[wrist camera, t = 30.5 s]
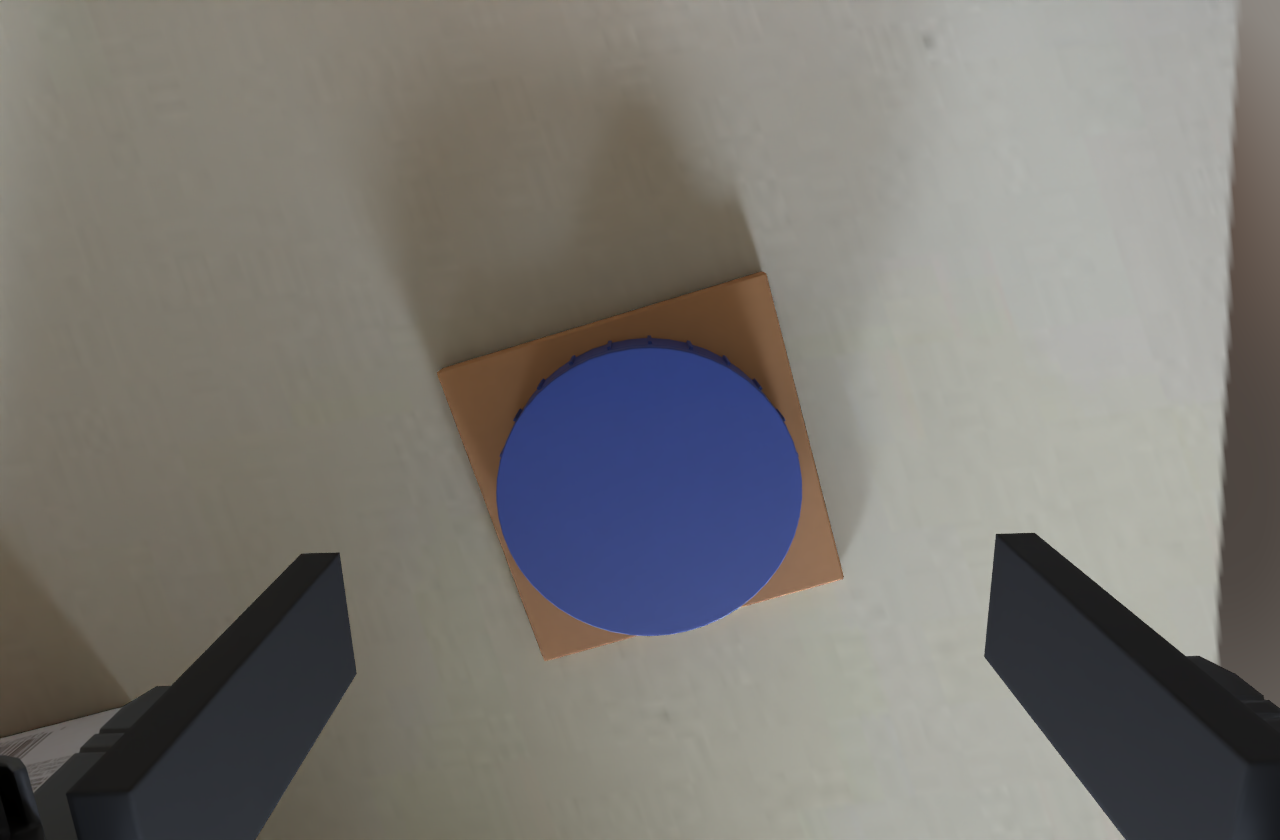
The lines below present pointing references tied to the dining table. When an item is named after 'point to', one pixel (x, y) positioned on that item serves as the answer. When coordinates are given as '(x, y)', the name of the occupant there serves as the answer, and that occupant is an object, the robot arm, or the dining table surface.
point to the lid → (649, 487)
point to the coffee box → (52, 745)
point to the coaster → (708, 318)
